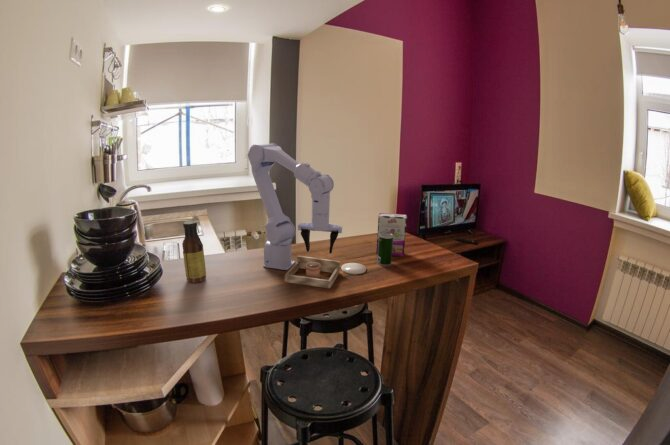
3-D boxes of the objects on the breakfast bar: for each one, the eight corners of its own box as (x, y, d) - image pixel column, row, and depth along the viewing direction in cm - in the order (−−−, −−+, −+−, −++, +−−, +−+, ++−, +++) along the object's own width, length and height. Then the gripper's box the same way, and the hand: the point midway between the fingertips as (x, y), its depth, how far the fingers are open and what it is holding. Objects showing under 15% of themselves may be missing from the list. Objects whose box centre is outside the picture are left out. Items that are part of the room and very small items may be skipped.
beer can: (383, 267, 136) (385, 236, 133) (374, 262, 141) (376, 232, 137) (394, 264, 139) (396, 234, 136) (384, 259, 144) (387, 230, 140)
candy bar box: (403, 252, 152) (407, 214, 147) (403, 257, 147) (407, 217, 142) (376, 250, 153) (379, 212, 148) (375, 254, 149) (378, 215, 144)
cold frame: (284, 281, 122) (284, 269, 121) (297, 267, 134) (297, 255, 133) (329, 288, 119) (330, 275, 118) (339, 272, 131) (339, 261, 129)
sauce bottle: (210, 278, 123) (206, 221, 117) (196, 285, 118) (191, 226, 112) (195, 274, 126) (191, 218, 120) (181, 281, 120) (175, 223, 115)
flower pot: (303, 279, 125) (303, 266, 123) (308, 273, 130) (308, 261, 128) (317, 281, 123) (318, 268, 122) (322, 275, 128) (322, 262, 127)
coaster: (338, 272, 131) (338, 270, 131) (344, 262, 139) (344, 261, 139) (363, 275, 129) (363, 274, 129) (367, 266, 137) (367, 264, 137)
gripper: (296, 214, 117) (295, 254, 121) (341, 217, 116) (339, 257, 120) (300, 208, 124) (299, 246, 128) (343, 211, 122) (341, 249, 126)
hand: (319, 251), depth 124 cm, fingers open, 7 cm apart
